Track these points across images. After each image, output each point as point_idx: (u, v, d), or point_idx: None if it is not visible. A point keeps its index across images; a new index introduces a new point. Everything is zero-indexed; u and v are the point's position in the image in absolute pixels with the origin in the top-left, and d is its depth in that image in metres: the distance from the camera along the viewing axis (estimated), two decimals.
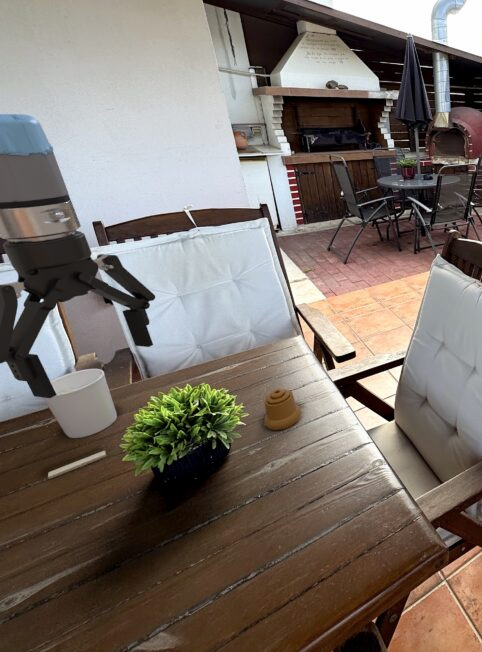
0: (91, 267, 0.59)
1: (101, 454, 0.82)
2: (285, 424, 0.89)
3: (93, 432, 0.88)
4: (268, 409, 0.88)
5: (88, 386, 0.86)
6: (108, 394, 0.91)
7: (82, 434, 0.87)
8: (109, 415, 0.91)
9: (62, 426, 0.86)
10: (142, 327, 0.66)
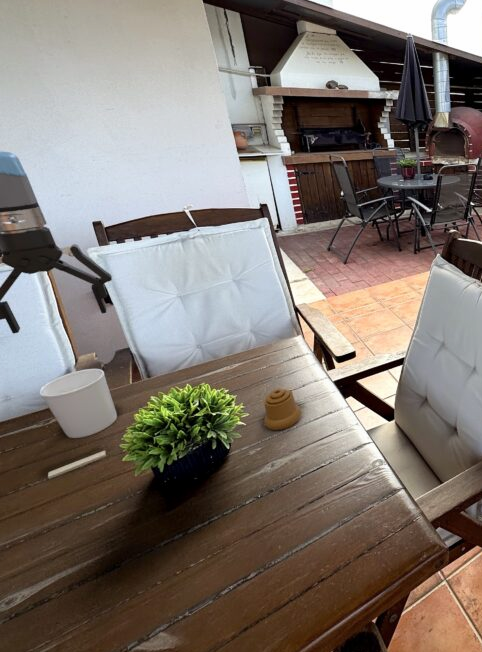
0: (53, 253, 0.86)
1: (101, 454, 0.82)
2: (285, 424, 0.89)
3: (93, 432, 0.88)
4: (268, 409, 0.88)
5: (88, 386, 0.86)
6: (108, 394, 0.91)
7: (82, 434, 0.87)
8: (109, 415, 0.91)
9: (62, 426, 0.86)
10: (96, 299, 0.92)
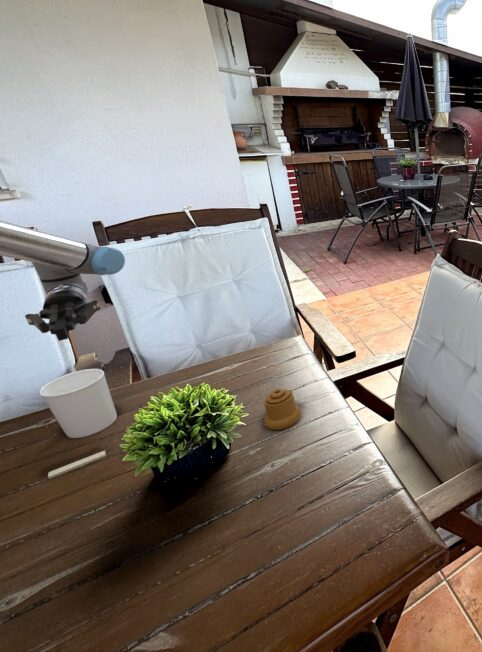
0: (80, 302, 1.04)
1: (101, 454, 0.82)
2: (285, 424, 0.89)
3: (93, 432, 0.88)
4: (268, 409, 0.88)
5: (88, 386, 0.86)
6: (108, 394, 0.91)
7: (82, 434, 0.87)
8: (109, 415, 0.91)
9: (62, 426, 0.86)
10: (60, 323, 0.92)
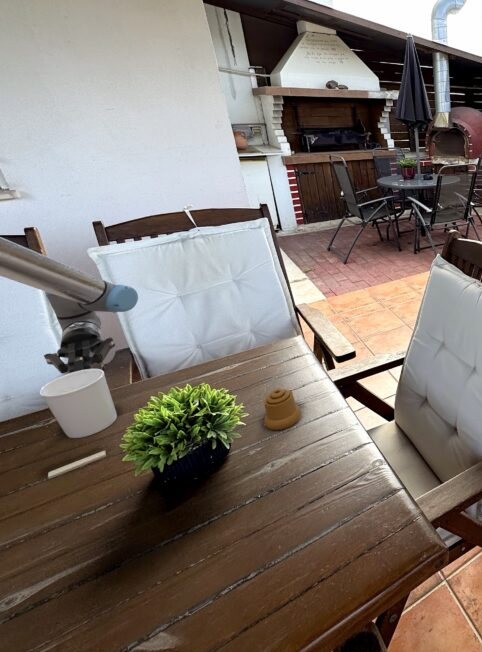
0: (95, 340, 1.08)
1: (101, 454, 0.82)
2: (285, 424, 0.89)
3: (93, 432, 0.88)
4: (268, 409, 0.88)
5: (88, 386, 0.86)
6: (108, 394, 0.91)
7: (82, 434, 0.87)
8: (109, 415, 0.91)
9: (62, 426, 0.86)
10: (78, 365, 0.96)
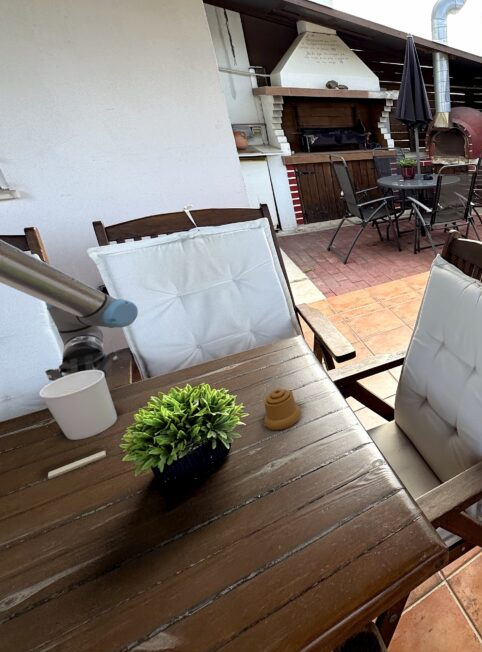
0: (98, 354, 1.05)
1: (101, 454, 0.82)
2: (285, 424, 0.89)
3: (92, 434, 0.88)
4: (268, 409, 0.88)
5: (88, 388, 0.85)
6: (108, 396, 0.90)
7: (81, 436, 0.87)
8: (109, 417, 0.90)
9: (62, 427, 0.85)
10: None
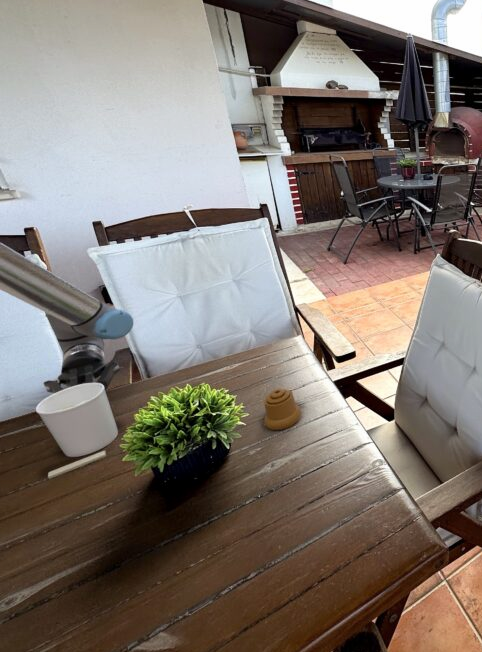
0: (99, 364, 1.01)
1: (101, 454, 0.82)
2: (285, 424, 0.89)
3: (92, 451, 0.83)
4: (268, 409, 0.88)
5: (86, 403, 0.81)
6: (108, 410, 0.85)
7: (80, 453, 0.82)
8: (109, 432, 0.85)
9: (59, 444, 0.81)
10: None
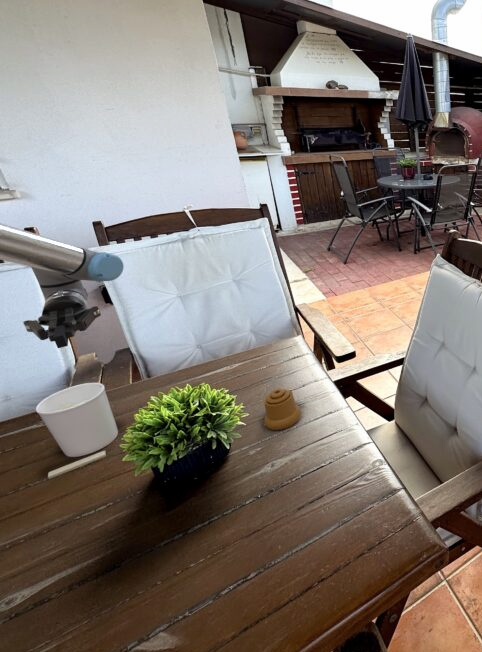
0: (80, 308, 1.01)
1: (101, 454, 0.82)
2: (285, 424, 0.89)
3: (92, 451, 0.83)
4: (268, 409, 0.88)
5: (86, 403, 0.81)
6: (108, 410, 0.85)
7: (80, 453, 0.82)
8: (109, 432, 0.85)
9: (59, 444, 0.81)
10: (59, 330, 0.90)
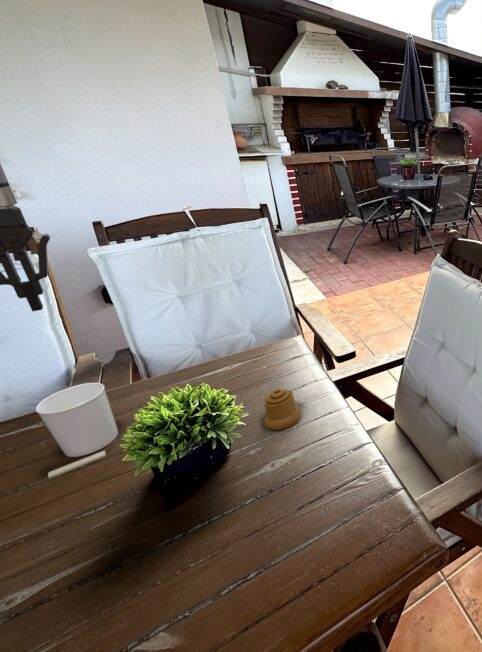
0: (24, 232, 0.88)
1: (101, 454, 0.82)
2: (285, 424, 0.89)
3: (92, 451, 0.83)
4: (268, 409, 0.88)
5: (86, 403, 0.81)
6: (108, 410, 0.85)
7: (80, 453, 0.82)
8: (109, 432, 0.85)
9: (59, 444, 0.81)
10: (31, 295, 0.90)
